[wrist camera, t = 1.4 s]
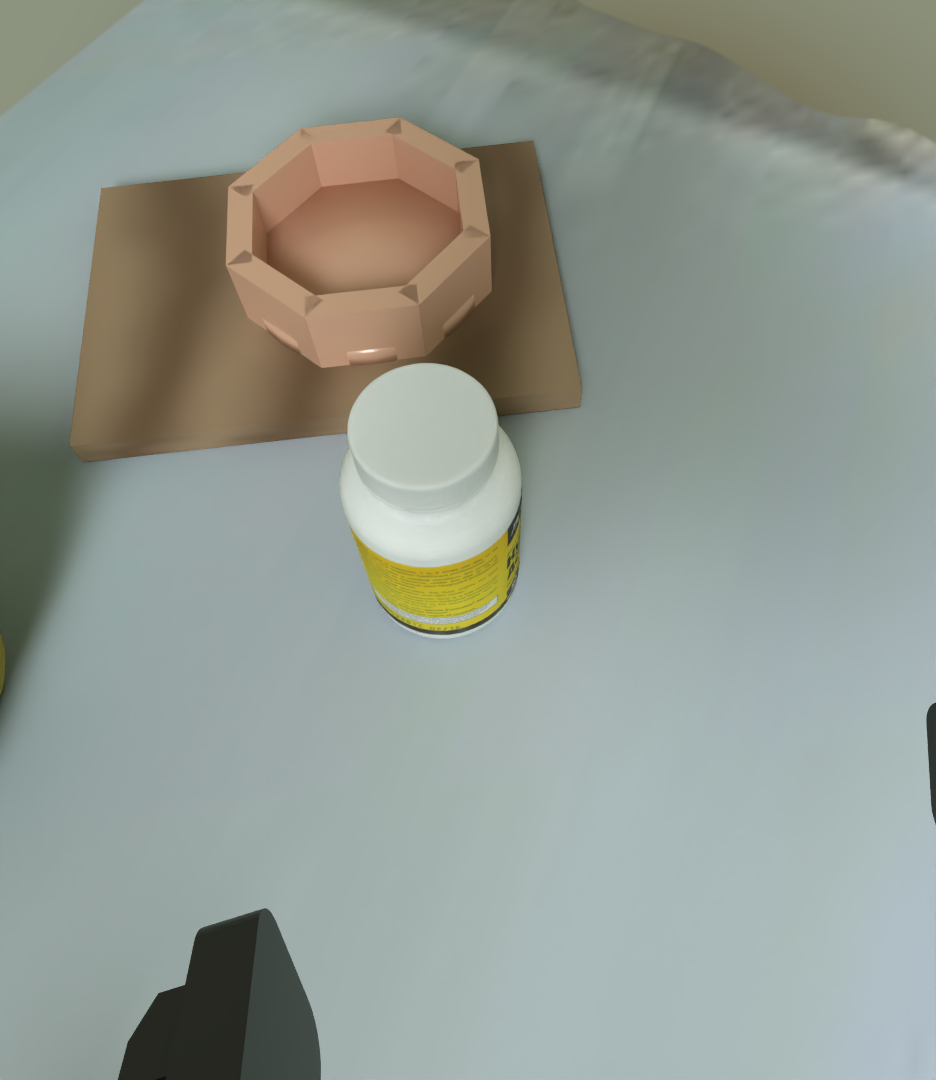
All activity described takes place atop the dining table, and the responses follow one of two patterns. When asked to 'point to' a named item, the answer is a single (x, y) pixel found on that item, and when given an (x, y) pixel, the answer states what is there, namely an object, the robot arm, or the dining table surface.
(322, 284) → the octagonal planter bowl
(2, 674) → the flower pot
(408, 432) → the supplement bottle
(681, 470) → the dining table surface
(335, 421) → the walnut board
